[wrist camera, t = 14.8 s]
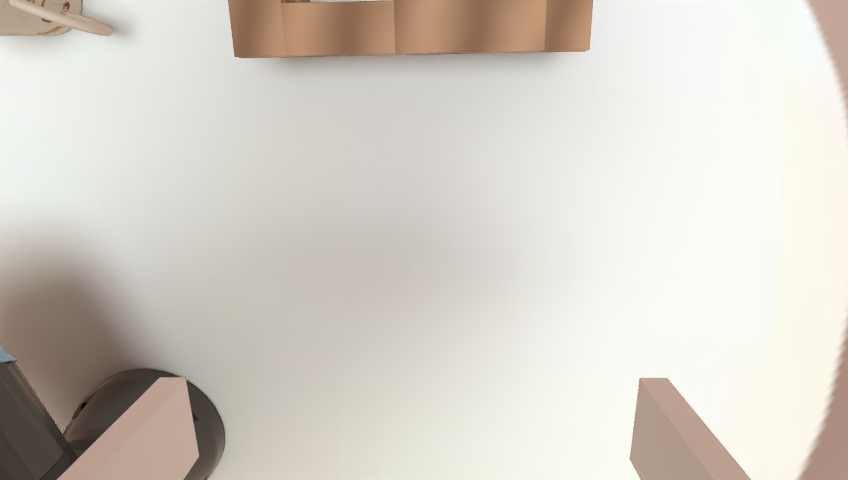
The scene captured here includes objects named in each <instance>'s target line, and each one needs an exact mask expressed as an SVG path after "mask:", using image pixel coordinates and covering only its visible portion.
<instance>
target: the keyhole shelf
mask: <svg viewBox="0 0 848 480" xmlns="http://www.w3.org/2000/svg"><path fill="white" fill-rule="evenodd" d="M228 4H229V12H230V21H231V29H232V38H233V46H234V55H235V57H239V58H271V57H322V56H373V55H425V54H476V53H527V52H579V51H587V50H589V49H590V35H591V22H592V8H593V0H394V1H357V2H313V3H310V0H228Z"/></svg>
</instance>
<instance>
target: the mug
mask: <svg viewBox="0 0 848 480" xmlns="http://www.w3.org/2000/svg"><path fill="white" fill-rule="evenodd" d="M81 9H82V0H0V36H29V35H59V34H63V33H65V32H67V31H69V30H70V29H72V28H74V29H78V30H81V31H85V32H89V33H92V34H97V35H103V36H109V35H112V33H113V32H112V29H111V28H110V27H108V26H106V25H104V24H103V23H101V22H99V21H97V20H94V19H91V18H88V17H85V16H82V15H80V14H81Z"/></svg>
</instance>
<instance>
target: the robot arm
mask: <svg viewBox="0 0 848 480" xmlns="http://www.w3.org/2000/svg"><path fill="white" fill-rule="evenodd" d="M15 361H17V360H16V358H15V357H14V356H13V355H10V354H8V353H7V352H6V350H5V349H4V348H3V347H2V345H1V344H0V480H208V478H209V477H210V475H211V474H212V472H213V471H214V469H215V467H216V466H217V464H218V462H219V461H220V458H221V456H222V453H223V449H224V441H225V440H224V430H223V425H222V422H221V419H220V417H219V415H218V413H217V411H216V409H215V408H214V406H213V405H212V403H211V402H210V401H209V400H208V399H207V397H206V396H205V395H204V394H203V393H201V392H200V391H199V390H198V389H197V388H195V387H194V386H193V385H191V384H190V383H188V382H186V377H176V376H174V375H171V374H168V373H165V372H161V371H155V370H131V371H126V372H122V373H119V374H116V375H114V376H112V377H110V378H108V379H107V380H105V381H104V382H103V383H101V384H100V385H99V386H98V387H97V388H95V389H94V390H93V391H92V392H91V393H90V394H89V395H87V396H86V398H85V399H84V400H83V401H82V402H81V403H80V405H79V406H78V408H77V410H76V412H75V413H74V416H73V418H72V420H71V422H70V423H69V425H68V426H67V428H66V429H65V431H64V433H63V434H62V433H61V431H60V430H59V428H58V427H57V425H56V424H55V422H54V421H53V419H52V418H51V416H50V415H49V413H48V412H47V410H46V409H45V407H44V405H43V404H42V402H41V401H40V399H39V398H38V396H37V395H36V393H35V392H34V390H33V389H32V387H31V386H30V384H29V383H28V381H27V380H26V378H25V377H24V375H23V373H22V372H21V370H20V369H19V367H18V366H17V364H16V363H15ZM630 460H631V462H632V464H633V466H634V468H635V470H636V471H637V473H638V475H639V477H640V479H641V480H751V479H750V478H749V477H748V475H747V474H746V473H745V472H744V470H743V469H742V468H741V467H740V466H739V464H738V463H737V462H736V461H735V460H734V458H733V457H732V456H731V455H730V454H729V452H728V451H727V450H726V449H725V447H724V446H723V445H722V444H721V443H720V441H719V440H718V439H717V438H716V437H715V435H714V434H713V433H712V432H711V431H710V429H709V428H708V427H707V426H706V425H705V423H704V422H703V421H702V420H701V418H700V417H699V416H698V415H697V414H696V412H695V411H694V410H693V409H692V408H691V406H690V405H689V404H688V403H687V402H686V400H685V399H684V398H683V397H682V396H681V394H680V393H679V392H678V391H677V389H676V388H675V387H674V386H673V385H672V383H671V382H670V381H669V380H668V379H667V378H640V380H639V388H638V396H637V404H636V413H635V421H634V429H633V437H632V445H631V454H630Z"/></svg>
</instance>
